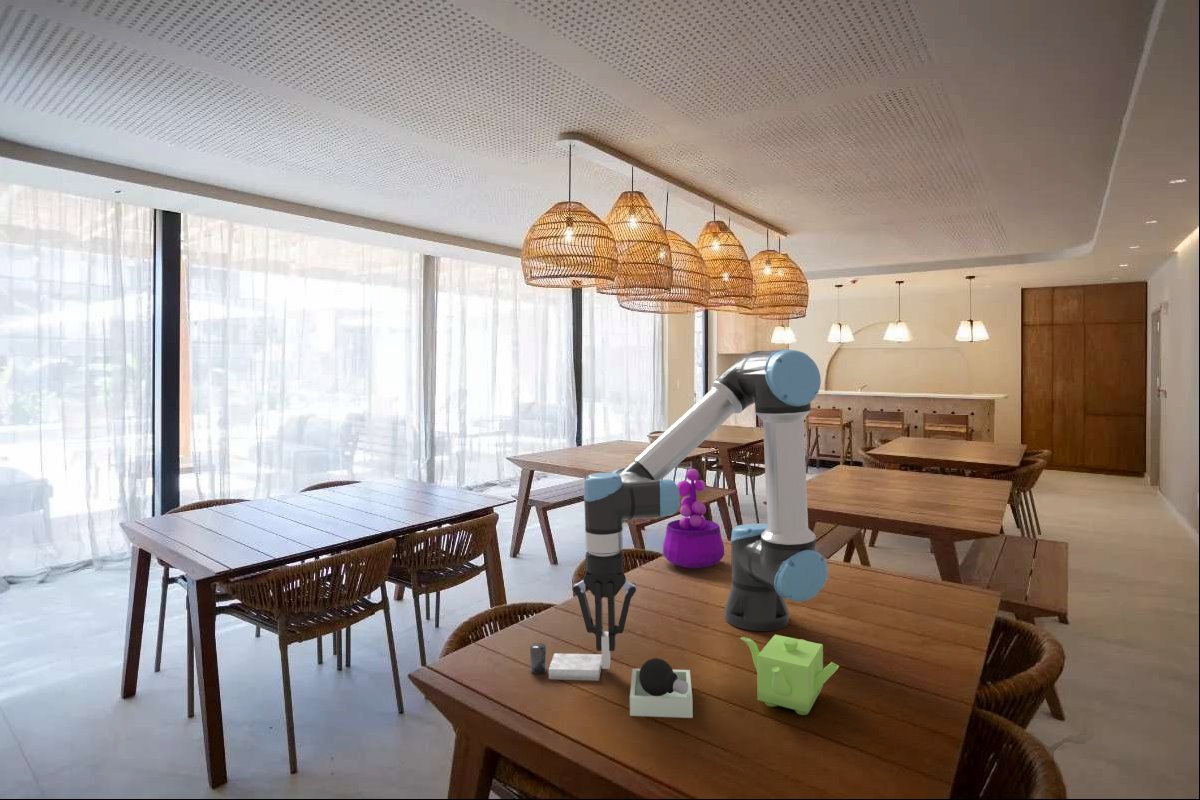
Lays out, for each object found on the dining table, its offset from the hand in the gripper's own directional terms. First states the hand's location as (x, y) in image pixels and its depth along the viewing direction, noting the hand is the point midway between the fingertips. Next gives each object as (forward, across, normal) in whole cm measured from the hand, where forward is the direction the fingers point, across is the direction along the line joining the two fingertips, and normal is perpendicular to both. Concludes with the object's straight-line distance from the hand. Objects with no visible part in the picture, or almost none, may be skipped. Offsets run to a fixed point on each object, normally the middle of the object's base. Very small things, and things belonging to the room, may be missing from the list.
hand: (606, 665), depth 131 cm
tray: (+1, -11, +10) cm, 15 cm away
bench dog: (+1, +14, 0) cm, 14 cm away
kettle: (+2, -34, +9) cm, 35 cm away
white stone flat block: (+2, +6, 0) cm, 6 cm away
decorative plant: (+2, -21, -71) cm, 74 cm away
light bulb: (0, -12, +12) cm, 17 cm away
